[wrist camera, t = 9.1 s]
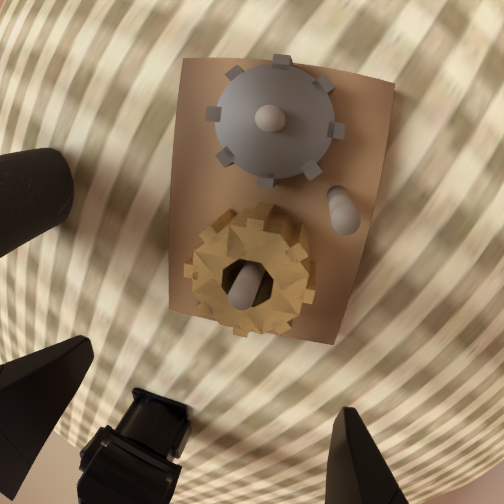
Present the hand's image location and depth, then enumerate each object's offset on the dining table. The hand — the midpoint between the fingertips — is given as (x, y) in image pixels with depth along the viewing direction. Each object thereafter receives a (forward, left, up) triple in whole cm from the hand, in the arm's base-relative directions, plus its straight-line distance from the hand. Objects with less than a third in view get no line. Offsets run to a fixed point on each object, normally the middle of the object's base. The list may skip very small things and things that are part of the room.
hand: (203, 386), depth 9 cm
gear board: (0, +3, -12) cm, 12 cm away
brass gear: (0, 0, -10) cm, 10 cm away
